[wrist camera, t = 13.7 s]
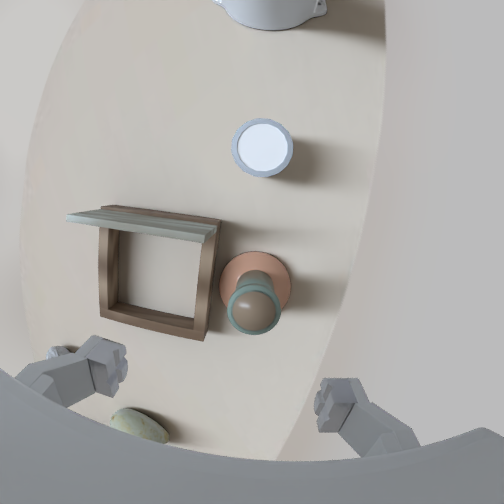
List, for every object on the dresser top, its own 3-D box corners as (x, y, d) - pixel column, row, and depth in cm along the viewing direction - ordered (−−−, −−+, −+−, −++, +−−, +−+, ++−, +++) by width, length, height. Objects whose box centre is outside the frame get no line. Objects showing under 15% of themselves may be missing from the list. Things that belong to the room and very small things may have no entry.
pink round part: (225, 245, 38) (224, 247, 37) (296, 257, 38) (297, 259, 37) (216, 311, 40) (215, 314, 39) (282, 321, 40) (283, 324, 39)
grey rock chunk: (85, 360, 43) (67, 378, 36) (68, 367, 44) (51, 384, 37) (67, 334, 42) (48, 351, 35) (52, 344, 43) (33, 359, 36)
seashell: (112, 450, 40) (97, 427, 37) (120, 424, 48) (108, 398, 44) (168, 461, 41) (160, 439, 38) (172, 433, 49) (165, 408, 45)
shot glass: (296, 164, 35) (305, 158, 28) (252, 189, 36) (251, 188, 29) (270, 122, 34) (272, 107, 27) (226, 147, 35) (219, 137, 28)
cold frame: (112, 204, 37) (66, 211, 26) (221, 219, 37) (205, 231, 26) (110, 308, 40) (73, 339, 29) (207, 330, 41) (191, 374, 29)
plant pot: (236, 263, 37) (230, 282, 29) (280, 270, 37) (285, 291, 29) (230, 304, 38) (224, 330, 30) (272, 310, 38) (275, 338, 31)
